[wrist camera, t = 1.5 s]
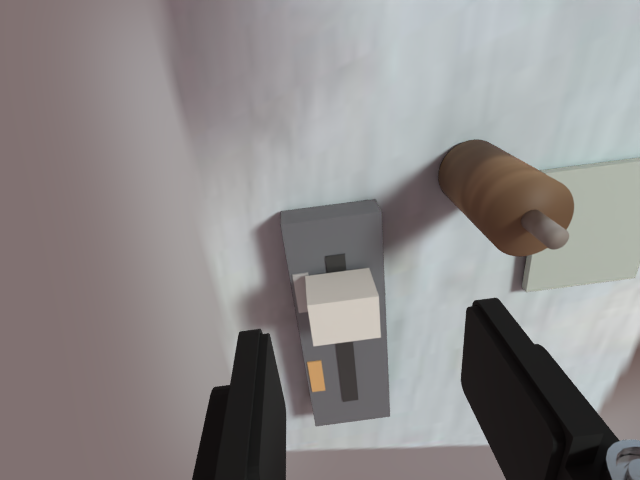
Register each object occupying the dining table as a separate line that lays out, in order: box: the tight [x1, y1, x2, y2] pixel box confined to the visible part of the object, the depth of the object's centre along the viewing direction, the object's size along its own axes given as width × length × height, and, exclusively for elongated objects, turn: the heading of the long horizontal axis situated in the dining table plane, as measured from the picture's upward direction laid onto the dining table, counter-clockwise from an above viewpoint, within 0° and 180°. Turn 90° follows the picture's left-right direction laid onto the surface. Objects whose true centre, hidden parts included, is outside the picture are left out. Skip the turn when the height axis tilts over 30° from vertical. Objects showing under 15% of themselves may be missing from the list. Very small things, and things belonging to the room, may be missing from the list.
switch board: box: [280, 199, 390, 426], centre depth 28 cm, size 18×6×2 cm, turn 6°
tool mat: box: [522, 158, 640, 292], centre depth 27 cm, size 9×8×1 cm
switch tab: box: [305, 268, 381, 346], centre depth 24 cm, size 3×4×3 cm
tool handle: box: [438, 140, 574, 256], centre depth 21 cm, size 4×4×9 cm
